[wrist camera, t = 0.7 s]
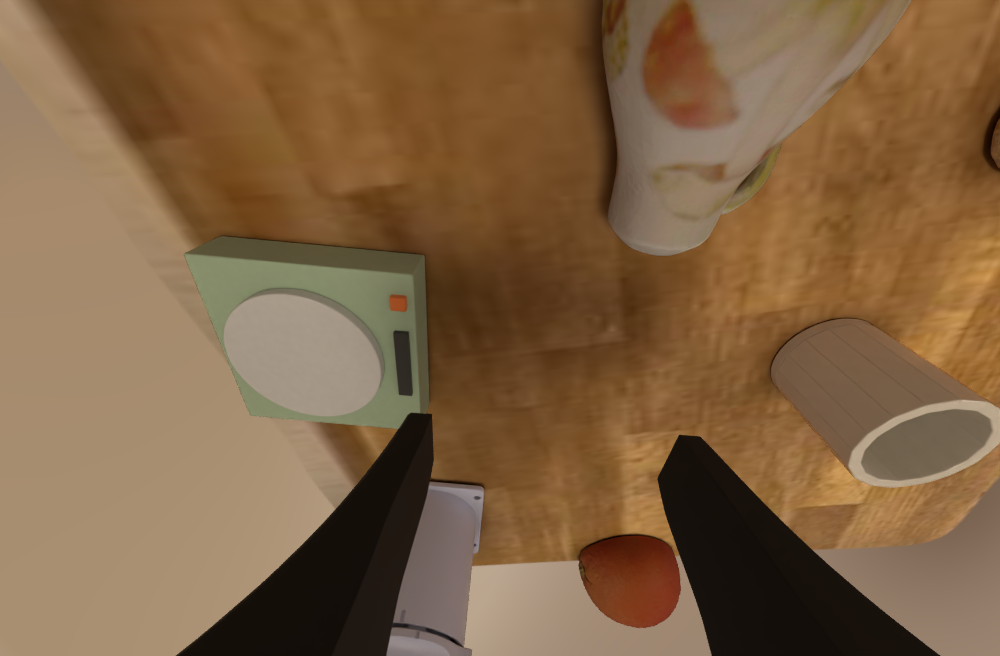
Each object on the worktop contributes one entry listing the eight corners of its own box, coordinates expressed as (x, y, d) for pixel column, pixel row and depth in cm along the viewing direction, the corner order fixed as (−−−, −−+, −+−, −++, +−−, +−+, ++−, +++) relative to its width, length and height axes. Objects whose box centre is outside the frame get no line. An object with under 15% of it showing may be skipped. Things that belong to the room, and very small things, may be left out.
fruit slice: (575, 544, 30) (573, 529, 35) (589, 643, 28) (585, 612, 33) (682, 536, 29) (665, 522, 34) (704, 639, 27) (682, 608, 32)
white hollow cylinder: (843, 399, 22) (940, 492, 17) (753, 391, 22) (823, 481, 17) (905, 322, 19) (1046, 407, 14) (801, 313, 19) (905, 394, 14)
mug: (564, 247, 18) (543, 178, 8) (613, 32, 16) (661, -359, 7) (732, 279, 16) (962, 242, 6) (798, 45, 15) (1199, -430, 5)
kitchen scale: (429, 402, 23) (419, 439, 21) (272, 388, 23) (243, 424, 21) (424, 254, 18) (409, 281, 15) (220, 235, 18) (170, 258, 15)
